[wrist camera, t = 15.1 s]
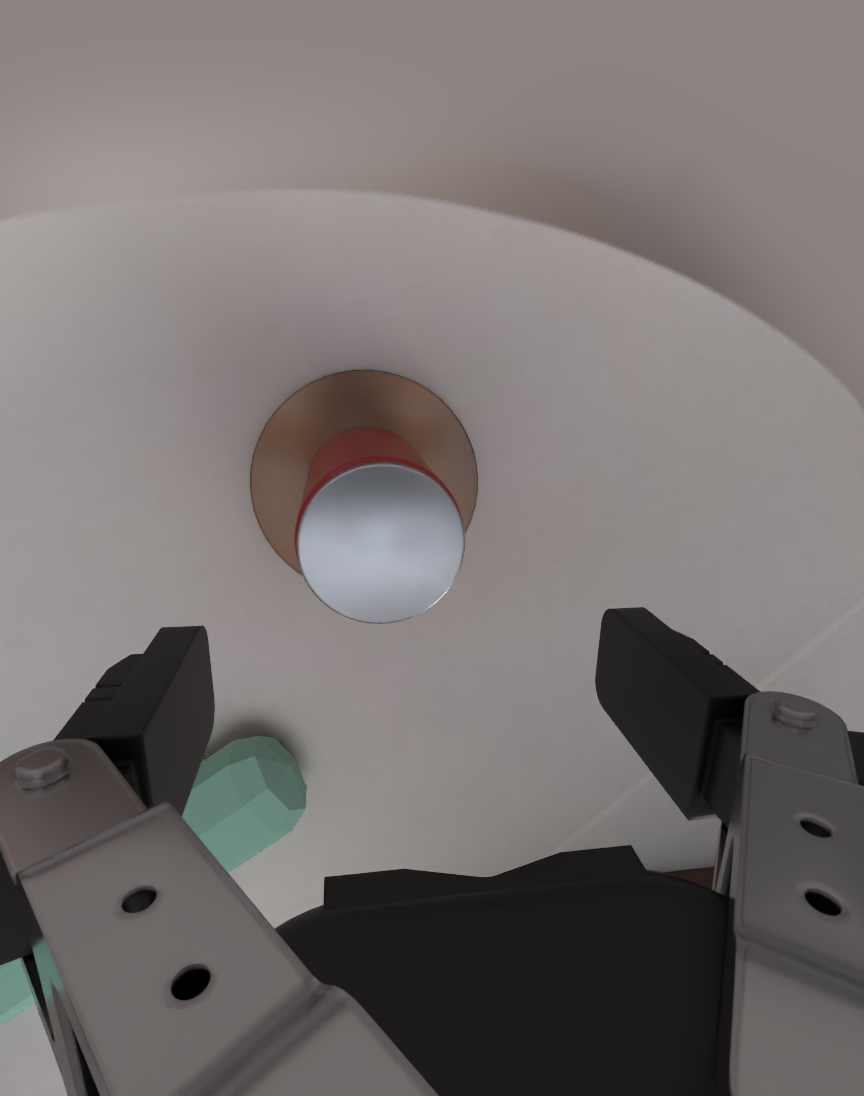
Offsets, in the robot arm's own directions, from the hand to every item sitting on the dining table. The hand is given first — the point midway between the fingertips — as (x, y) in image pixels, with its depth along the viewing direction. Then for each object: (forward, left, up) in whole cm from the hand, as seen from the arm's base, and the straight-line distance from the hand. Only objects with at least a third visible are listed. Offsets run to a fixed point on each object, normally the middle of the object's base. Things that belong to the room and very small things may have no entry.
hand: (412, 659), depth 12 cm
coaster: (0, 0, -16) cm, 16 cm away
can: (0, -1, -15) cm, 15 cm away
